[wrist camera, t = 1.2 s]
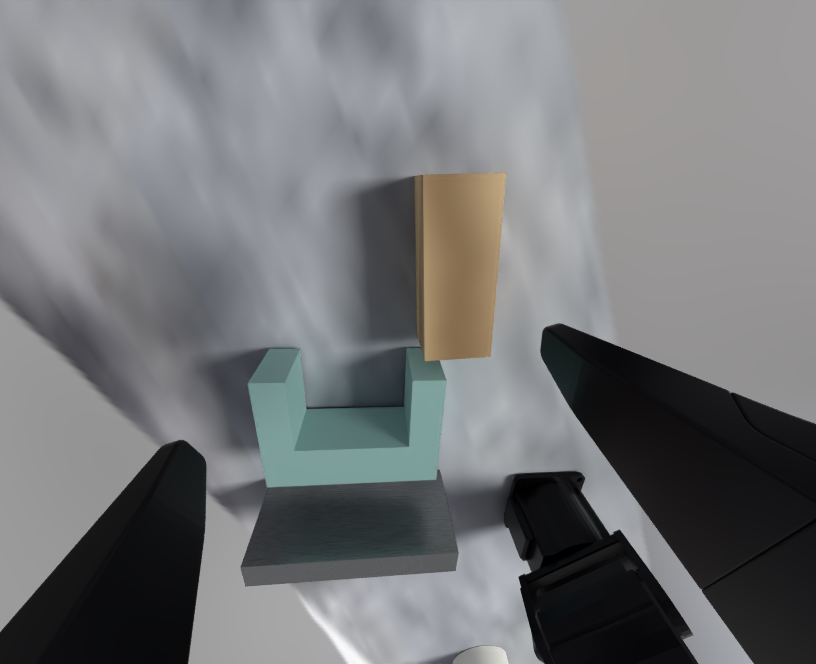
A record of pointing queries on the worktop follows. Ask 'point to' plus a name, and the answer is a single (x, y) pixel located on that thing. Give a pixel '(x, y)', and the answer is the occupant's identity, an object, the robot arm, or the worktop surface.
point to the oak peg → (457, 262)
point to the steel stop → (351, 532)
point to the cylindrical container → (482, 656)
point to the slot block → (345, 428)
